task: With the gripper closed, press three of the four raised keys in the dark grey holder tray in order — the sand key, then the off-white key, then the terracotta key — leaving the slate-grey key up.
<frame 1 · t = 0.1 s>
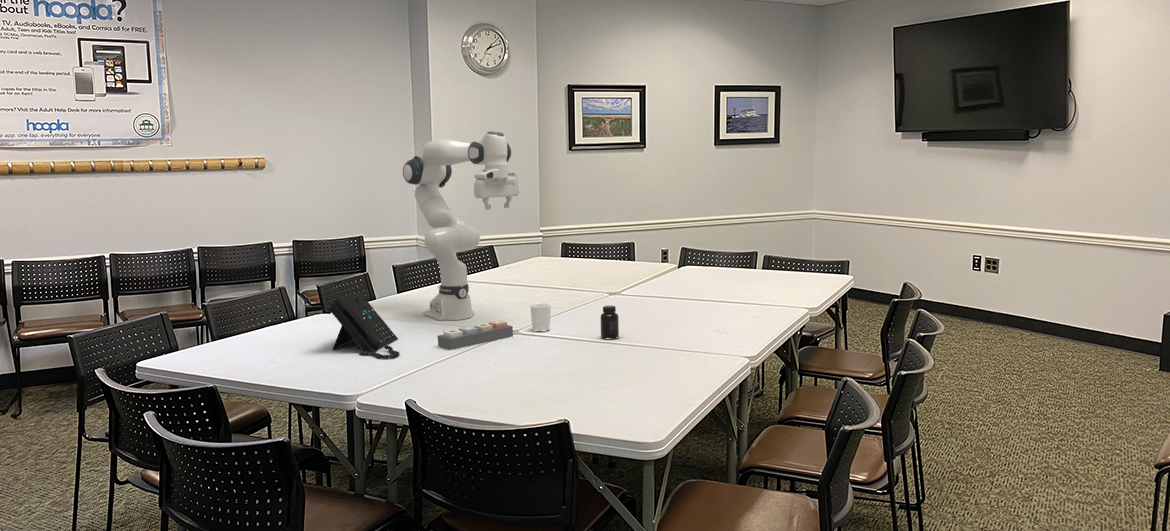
hand: (497, 208, 331), 48 cm above the table, tool pointing down, fingers open, 8 cm apart
white cup: (541, 330, 333), on the table
key 2: (468, 331, 313), point 4 cm above the table, slide at 0.0 cm
key 3: (483, 328, 317), point 4 cm above the table, slide at 0.0 cm
supplement bottle: (609, 338, 319), on the table
key 4: (497, 325, 322), point 4 cm above the table, slide at 0.0 cm
key 1: (453, 334, 308), point 4 cm above the table, slide at 0.0 cm
office phone: (374, 349, 307), on the table
dark grey holder tray: (476, 341, 316), on the table
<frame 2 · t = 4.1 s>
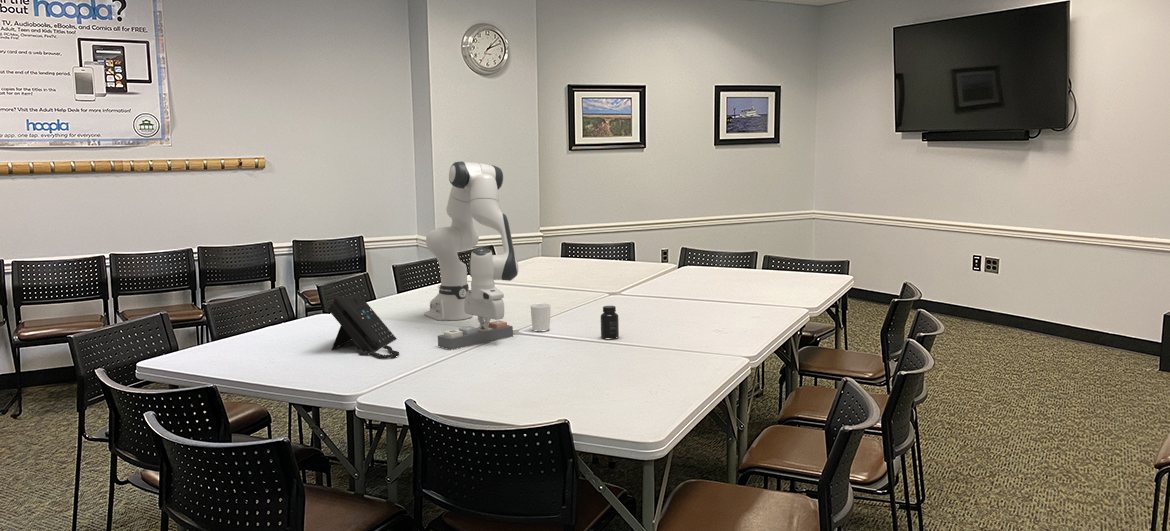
hand: (484, 328, 317), 4 cm above the table, tool pointing down, fingers closed, pressing on key 3
key 3: (483, 331, 318), point 3 cm above the table, slide at 1.3 cm, touching gripper
everything else where it was.
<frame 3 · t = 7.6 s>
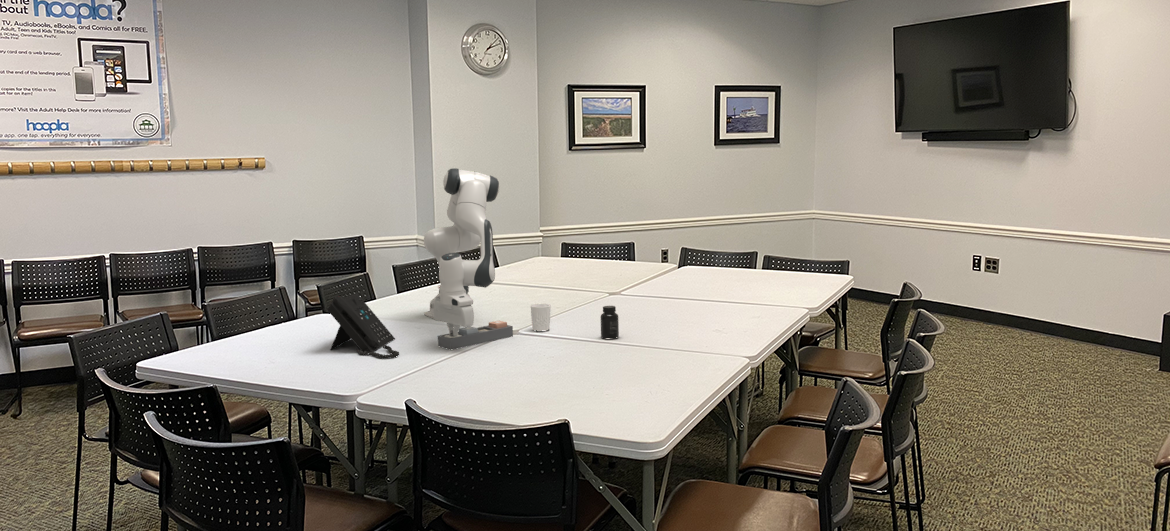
hand: (453, 335, 308), 4 cm above the table, tool pointing down, fingers closed, pressing on key 1
key 3: (483, 334, 318), point 2 cm above the table, slide at 2.3 cm
key 1: (453, 338, 308), point 3 cm above the table, slide at 1.6 cm, touching gripper
everything else where it was.
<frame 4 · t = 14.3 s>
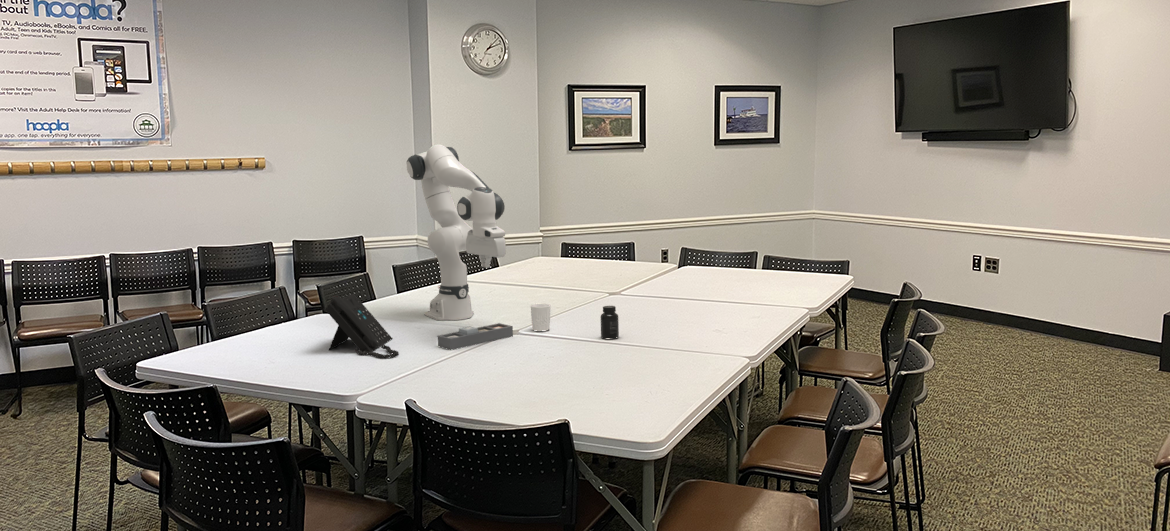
hand: (485, 267, 318), 27 cm above the table, tool pointing down, fingers closed
key 4: (498, 331, 323), point 2 cm above the table, slide at 2.3 cm
key 1: (453, 340, 308), point 2 cm above the table, slide at 2.3 cm
at the end: key 3 slide at 2.3 cm; key 1 slide at 2.3 cm; key 4 slide at 2.3 cm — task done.
